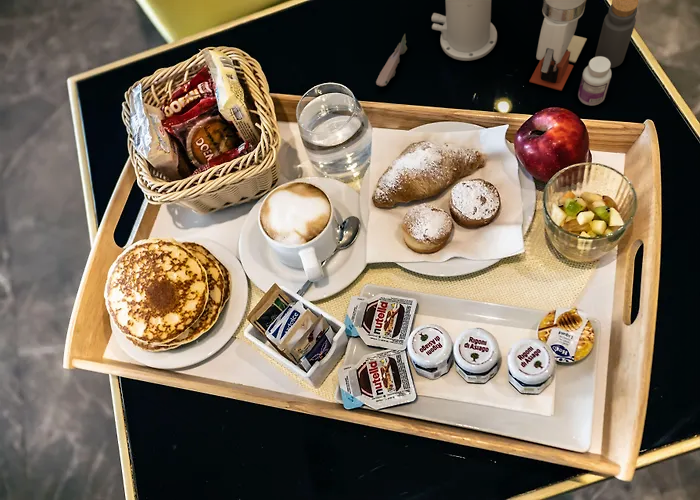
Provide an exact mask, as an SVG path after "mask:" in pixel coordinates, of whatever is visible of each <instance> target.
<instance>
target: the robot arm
mask: <svg viewBox="0 0 700 500" xmlns="http://www.w3.org/2000/svg"><path fill="white" fill-rule="evenodd" d="M444 2H445V15H444V14H440V13H437V12H433V13H432V14H431V22H433V23H432V25H431V29H432V30H434V31H439V32H440V33H441V34H440V38H439V39H440V40H439V41H440V46H441V49H442V51H443V52H444V53H445V54H446V56H448V57H450V58H452V59H454V60H457V61H464V62H467V61H469V62H470V61H475V60H479V59H481V58H483V57H486V56H487V55H488V54H489V53H490V52H491V51H493V50H494V48H495V46H496V44H497V42H498V31H497V29H496V26H495V25H494V24H493V23H492V22H491V19H492V0H445V1H444ZM586 4H587V0H542V10H541V12H542V15H543V17H544V18H543V21H542V25H541V29H540V33H539V38H538V44H537V48H536V56H535V58H536V60H539V61H540V60H542V58H544V62H543V66H542V70H541V72H542V74H541V79H542V80H544V81H548V82H552V83H556V81H557V76H558V70H559V68H557V67H558V63H559V62H560V61H561V59H562V57H563V56H564V54H565V52H566V51H568V49H567V48H568V46H569V44H570V42H571V40H572V38H573V35H574V36H575V32H576V30H577V27H578V22H579V19H580V18H581V17H582V16H583V14H584V12H585V8H586ZM544 56H545V57H544ZM551 61H555V63H554V65H551Z"/></svg>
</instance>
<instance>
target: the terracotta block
mask: <svg viewBox="0 0 700 500" xmlns="http://www.w3.org/2000/svg"><path fill="white" fill-rule="evenodd" d="M570 53H571V52H570V51H566V52H565V54H564V56H563V57H562V59H561V61H560V62H559V63H558V67H557V68H559V70H558V76H557V82H561V80H562V78H563V76H564V74H565V72H566V70H567V68H568V64H570V62H569V58H570ZM544 57H545V56H544ZM544 57H543V60H542V62H541V69H540V76H539V77H541V74H542V72H541V70H542V66H543V62H544ZM554 63H555V61H551V65H554Z"/></svg>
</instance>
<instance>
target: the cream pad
mask: <svg viewBox="0 0 700 500" xmlns="http://www.w3.org/2000/svg"><path fill="white" fill-rule="evenodd" d="M587 40H588V38H586V37H583V36H578V35H575V34H574V35H573V38H572V40H571V42H570V44H569V46H568V48H567V49H568V51H570V52H571V53H570V58H569V63H572V64H576V63H577V60H578V58H579V56H580V54H581V53H582V50H583V48H584V47H585V44H586V42H587Z"/></svg>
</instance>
